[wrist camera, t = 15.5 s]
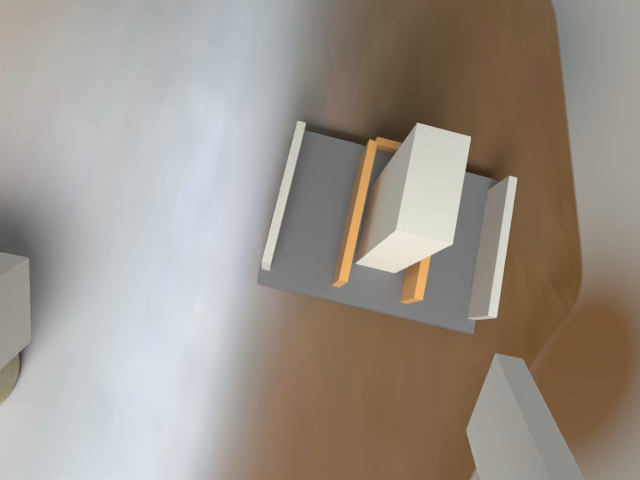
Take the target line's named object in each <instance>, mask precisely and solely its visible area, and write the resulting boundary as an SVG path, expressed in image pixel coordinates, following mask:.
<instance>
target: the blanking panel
mask: <svg viewBox="0 0 640 480" xmlns="http://www.w3.org/2000/svg"><path fill="white" fill-rule="evenodd" d="M470 141H471V137H470V136H466V135H462V134H458V133H454V132H451V131H447V130H443V129H439V128H436V127H432V126H428V125H424V124H420V123H417V124H416V125H415V127H414V128H413V129H412V131H411V132H410V134H409V135H408V136H407V138H406V139H405V141H404V142H403V143H402V145H401V146H400V148H399V149H398V150H397V152H396V153H395V155H394V156H393V157H392V159H391V160H390V162H389V163H388V164H387V166H386V167H385V169H384V170H383V171H382V173H381V174H380V176H379V177H378V178H377V180H376V181H375V182H374V184H373V185H372V187H371V192H370V196H369V201H368V206H367V210H366V215H365V220H364V224H363V229H362V234H361V239H360V243H359V248H358V253H357V257H356V262H355V264H359V265H363V266H367V267H371V268H375V269H379V270H384V271H388V272H392V273H396V272H398V271H400V270H402V269H404V268H406V267H408V266H410V265H412V264H414V263H416V262H418V261H420V260H422V259H424V258H426V257H428V256H430V255H432V254H434V253H436V252H438V251H440V250H442V249H444V248H446V247H448V246H450V245H452V244H453V239H454V233H455V228H456V222H457V216H458V210H459V204H460V199H461V193H462V187H463V181H464V175H465V170H466V164H467V158H468V152H469V146H470Z"/></svg>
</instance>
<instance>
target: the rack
mask: <svg viewBox="0 0 640 480" xmlns="http://www.w3.org/2000/svg"><path fill="white" fill-rule="evenodd" d="M305 126H306V123H305V122H301V121H297V125H296V129H295V133H294V137H293V140H292V144H291V148H290V152H289V156H288V160H287V164H286V168H285V172H284V176H283V180H282V184H281V188H280V192H279V196H278V200H277V203H276V207H275V211H274V215H273V219H272V223H271V227H270V231H269V235H268V239H267V243H266V247H265V251H264V255H263V259H262V267H261V271H260V275H259V279H258V284H259V285H263V286H268V287H272V288H276V289H280V290H284V291H289V292H293V293H297V294H301V295H305V296H310V297H314V298H318V299H322V300H326V301H331V302H335V303H339V304H343V305H347V306H352V307H356V308H360V309H364V310H368V311H373V312H377V313H381V314H385V315H389V316H394V317H398V318H402V319H406V320H411V321H415V322H419V323H423V324H427V325H432V326H436V327H440V328H444V329H448V330H453V331H457V332H461V333H465V334H474V327H475V321H476V320H480V319H491V318H497V312H498V305H499V298H500V292H501V285H502V278H503V272H504V265H505V258H506V251H507V245H508V238H509V231H510V224H511V218H512V211H513V204H514V197H515V191H516V184H517V178H516V177H512V176H508V177H507V178H505V179H504V180H502V181H501V182H499V183H498V184H497V181H498V180H495V179H491V178H488V177H484V176H480V175H476V174H472V173H468V172H465V175H464V181H463V187H462V193H461V199H460V204H459V210H458V216H457V222H456V228H455V233H454V239H453V244H452V245H450V246H448V247H446V248H444V249H442V250H440V251H438V252H436V253H434V254H432V255H430V256H428V257H426V258H424V259H422V260H420V261H418V262H416V263H414V264H412V265H410V266H408V267H406V268H404V269H402V270H400V271H398V272H396V273H392V272H388V271H384V270H379V269H375V268H371V267H367V266H363V265H359V264H355V262H356V257H357V253H358V248H359V243H360V239H361V234H362V229H363V224H364V220H365V215H366V210H367V206H368V201H369V196H370V192H371V187H372V185H373V184H374V182H375V181H376V180H377V178H378V177H379V176H380V174H381V173H382V171H383V170H384V169H385V167H386V166H387V164H388V163H389V162H390V160H391V159H392V157H393V156H394V155H395V153H396V152H397V150H398V149H399V148H400V146H401V145H402V143H400V142H396V141H392V140H388V139H384V138H381V137H377V138H376V140H375V141H374V140H370V139H369V141H368V143H367V145H366V146H364V145H360V144H356V143H353V142H349V141H345V140H341V139H337V138H333V137H329V136H326V135H322V134H318V133H314V132H310V131H306V130H305Z"/></svg>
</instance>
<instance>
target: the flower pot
mask: <svg viewBox="0 0 640 480" xmlns="http://www.w3.org/2000/svg"><path fill="white" fill-rule="evenodd" d="M19 368H20V360H19V354H17V355H16V356H15V357H14V358H13V359H12V360H10V361H9V362H8V363H7V364H6V365H5V366H4V367H3V368H2V369H1V370H0V405H1V404H2V403H3V402H4V401H5V399H6V398H7V396H8V395H9V394H10V392H11V390H12V389H13V387H14V385H15V383H16V381H17V378H18V375H19Z"/></svg>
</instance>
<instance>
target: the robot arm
mask: <svg viewBox="0 0 640 480" xmlns="http://www.w3.org/2000/svg"><path fill="white" fill-rule="evenodd" d="M30 342H31V312H30V274H29V258H28V257H23V256H18V255H13V254H9V253H4V252H1V253H0V370H1V369H2V368H3V367H4V366H5V365H6V364H7V363H8V362H9V361H10V360H12V359H13V358H14V357H15V356H16V355H17V354H18V353H19V352H20V351H21V350H22V349H24V348H25V347H26V346H27V345H28V344H29V343H30ZM466 432H467V435H468V439H469V443H470V446H471V450H472V454H473V457H474V461H475V464H476V468H477V472H478V475H479V479H480V480H585V479H584V477H583V475H582V473H581V472H580V469H579V468H578V466H577V464H576V462H575V460H574V458H573V456H572V454H571V452H570V450H569V448H568V446H567V444H566V442H565V440H564V438H563V436H562V435H561V433H560V431H559V429H558V427H557V425H556V423H555V421H554V419H553V417H552V415H551V413H550V411H549V409H548V407H547V405H546V403H545V401H544V399H543V397H542V396H541V394H540V392H539V390H538V388H537V386H536V384H535V382H534V380H533V378H532V376H531V374H530V372H529V370H528V368H527V366H526V364H525V363H524V361H523V359H521V358H516V357H511V356H506V355H501V354H496V353H495V356H494V359H493V361H492V364H491V367H490V369H489V372H488V374H487V377H486V380H485V382H484V385H483V387H482V390H481V393H480V395H479V398H478V401H477V403H476V406H475V408H474V411H473V414H472V416H471V419H470V421H469V424H468V427H467V429H466Z"/></svg>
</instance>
